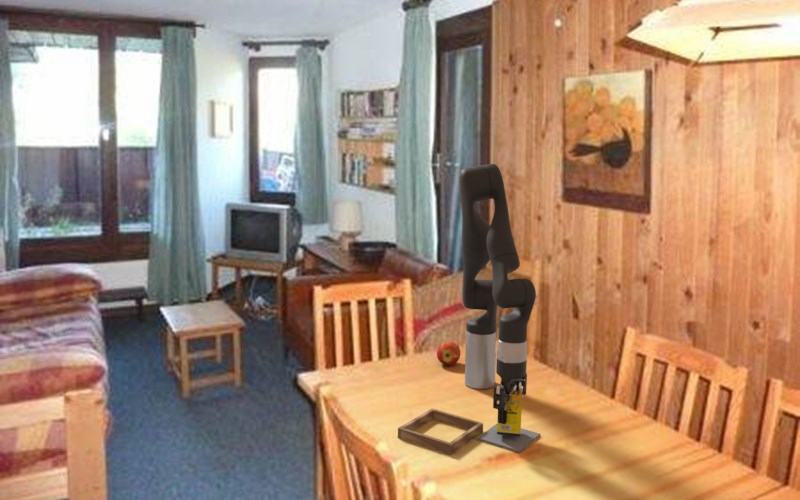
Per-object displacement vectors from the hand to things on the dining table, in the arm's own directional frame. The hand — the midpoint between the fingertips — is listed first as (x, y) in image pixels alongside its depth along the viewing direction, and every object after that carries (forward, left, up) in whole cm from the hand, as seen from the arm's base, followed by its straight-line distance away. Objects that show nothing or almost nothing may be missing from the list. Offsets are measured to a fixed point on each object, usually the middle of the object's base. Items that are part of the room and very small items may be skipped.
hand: (509, 417), depth 176 cm
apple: (-39, -42, -6) cm, 58 cm away
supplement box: (0, 0, -4) cm, 4 cm away
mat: (0, 0, -5) cm, 5 cm away
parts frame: (+9, -15, -5) cm, 18 cm away
